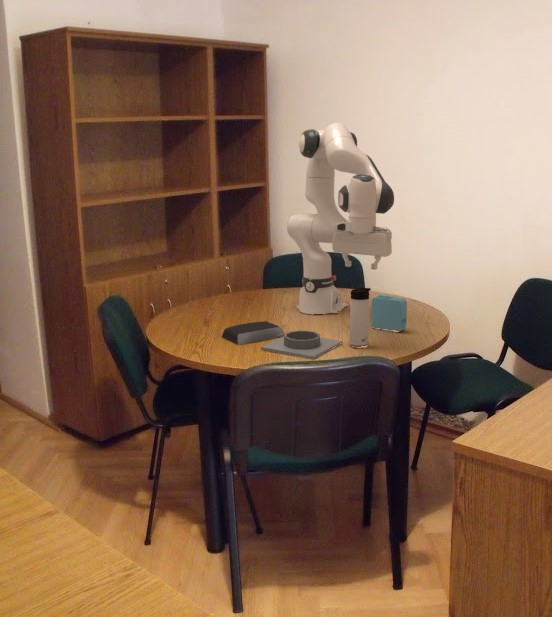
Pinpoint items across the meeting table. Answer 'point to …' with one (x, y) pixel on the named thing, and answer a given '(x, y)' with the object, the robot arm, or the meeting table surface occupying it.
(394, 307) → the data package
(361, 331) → the travel mug
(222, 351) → the meeting table surface
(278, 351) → the mug holder
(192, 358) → the meeting table surface
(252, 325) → the external hard drive
